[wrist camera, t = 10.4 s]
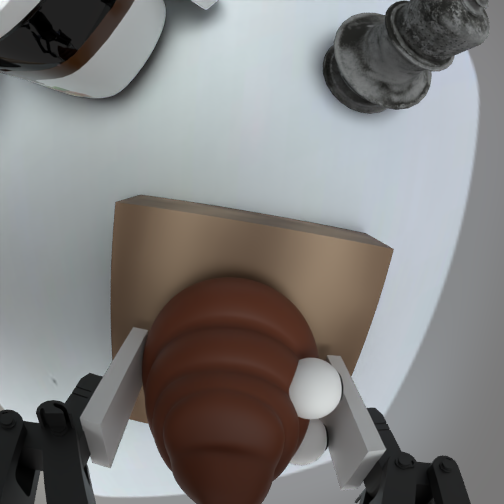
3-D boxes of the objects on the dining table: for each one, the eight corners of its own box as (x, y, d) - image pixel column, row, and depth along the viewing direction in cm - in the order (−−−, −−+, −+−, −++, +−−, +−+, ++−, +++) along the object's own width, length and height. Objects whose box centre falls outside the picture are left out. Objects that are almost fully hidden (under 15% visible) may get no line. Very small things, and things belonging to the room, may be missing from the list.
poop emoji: (146, 265, 14) (28, 388, 5) (330, 273, 14) (426, 412, 5) (164, 420, 17) (127, 548, 7) (304, 427, 17) (328, 559, 8)
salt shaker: (410, 118, 17) (556, 93, 5) (326, 119, 17) (447, 59, 5) (393, 38, 15) (507, -39, 4) (310, 33, 15) (383, -90, 4)
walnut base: (133, 381, 21) (117, 415, 17) (140, 194, 18) (115, 201, 14) (311, 406, 22) (321, 441, 18) (365, 233, 19) (393, 249, 15)
